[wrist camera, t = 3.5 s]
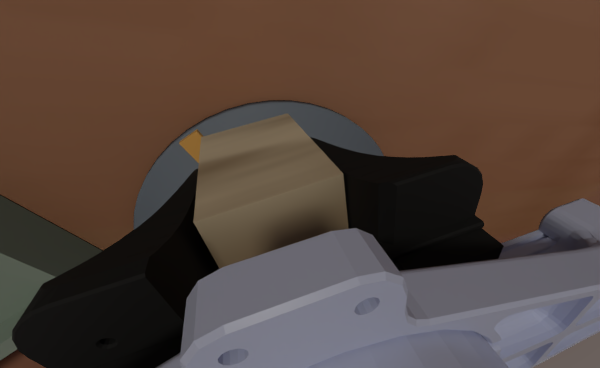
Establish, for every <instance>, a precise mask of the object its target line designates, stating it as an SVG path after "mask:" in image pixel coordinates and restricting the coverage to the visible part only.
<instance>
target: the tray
mask: <svg viewBox="0 0 600 368" xmlns="http://www.w3.org/2000/svg"><path fill="white" fill-rule="evenodd" d="M100 252H102V250H100V249H98V248H96V247H94V246H93V245H91V244H89V243H87V242H85V241H83V240H82V239H80V238H78V237H76V236H74V235H72V234H71V233H69V232H67V231H65V230H63V229H61V228H60V227H58V226H56V225H54V224H52V223H50V222H49V221H47V220H45V219H43V218H41V217H39V216H37V215H36V214H34V213H32V212H30V211H28V210H26V209H25V208H23V207H21V206H19V205H17V204H15V203H14V202H12V201H10V200H8V199H6V198H4V197H3V196H1V195H0V360H2V359H3V358H5V357H6V356H8V355H9V354H11V353H12V352H14V351H15V350H17V347H16V346H15V344H14V342H13V341H12V330H13V328H14V327H15V325H16V324H17V322H18V321H19V319H20V318H21V316H22V314H23V313H24V311H25V310H26V308H27V307H28V305H29V304H30V302H31V301H32V299H33V298H34V296H35V295H36V293H37V292H38V290H39V289H40V287H41V285H42V284H43V283H45V282H47V281H49V280H51V279H53V278H55V277H57V276H59V275H61V274H63V273H64V272H66V271H68V270H70V269H72V268H74V267H76V266H78V265H80V264H81V263H83V262H85V261H87V260H88V259H90V258H92V257H94V256H95V255H97V254H99V253H100Z"/></svg>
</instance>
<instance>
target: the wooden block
mask: <svg viewBox="0 0 600 368" xmlns="http://www.w3.org/2000/svg"><path fill="white" fill-rule="evenodd" d="M193 223H194V224H195V226H196V228H197V230H198V231H199V233H200V235H201V237H202V238H203V240H204V242H205V244H206V246H207V247H208V249H209V251H210V253H211V254H212V256H213V258H214V260H215V261H216V263H217V265H218V267H219V268H222V267H224V266H227V265H230V264H233V263H236V262H239V261H242V260H245V259H248V258H252V257H255V256H258V255H261V254H264V253H267V252H270V251H273V250H276V249H279V248H282V247H285V246H288V245H291V244H294V243H297V242H300V241H303V240H306V239H309V238H312V237H315V236H318V235H321V234H324V233H327V232H330V231H336V230H344V229H349V228H348V218H347V208H346V197H345V187H344V176H343V173H342V172H341V171H340V169H339V168H338V167H337V166H336V165H335V164H334V163H333V162H332V161H331V160H330V159H329V158H328V156H327V155H326V154H325V153H324V152H323V151H322V150H321V149H320V148H319V147H318V146H317V145H316V143H315V142H314V141H313V140H312V139H311V138H310V137H309V136H308V135H307V134H306V133H305V132H304V130H303V129H302V128H301V127H300V126H299V125H298V124H297V123H296V122H295V121H294V120H293V119H292V117H291V116H290V115H289V114H288V113H286V114H283V115H279V116H276V117H272V118H268V119H265V120H261V121H258V122H254V123H250V124H247V125H243V126H240V127H236V128H232V129H229V130H225V131H222V132H218V133H214V134H211V135H207V136H204V137H201V144H200V155H199V166H198V177H197V188H196V199H195V210H194V221H193Z"/></svg>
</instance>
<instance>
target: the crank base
mask: <svg viewBox="0 0 600 368" xmlns="http://www.w3.org/2000/svg"><path fill="white" fill-rule="evenodd" d="M286 113H288V114H289V115H290V116H291V117H292V119H293V120H294V121H295V122H296V123H297V124H298V125H299V126H300V127H301V128H302V129H303V130H304V132H305V133H306V134H307V135H308V136H309V137H312V138H316V139H318V140H321V141H324V142H327V143H329V144H332V145H335V146H338V147H341V148H344V149H348V150H352V151H355V152H360V153H365V154H371V155H377V156H383V154H382V152H381V150H380V148H379V147H378V146H377V144H376V143H375V142H374V140H373V139H372V138H371V137H370V136H369V135H368V134H367V133H366V132H365V131H364V130H363V129H362V128H361V127H359V126H358V125H356V124H355V123H353V122H352V121H350V120H349V119H347V118H346V117H345V116H343V115H341V114H339V113H337V112H334V111H332V110H330V109H328V108H325V107H321V106H318V105H314V104H311V103H305V102H298V101H290V100H269V101H262V102H255V103H248V104H244V105H241V106H237V107H233V108H230V109H226V110H224V111H222V112H219V113H217V114H215V115H212V116H210V117H208V118H206V119H204V120H202V121H201V122H199V123H197V124H196V125H194V126H192V127H191V128H189V129H187V130H186V131H185V132H184V133H183V134H181V135H180V136H179V137H178V138H176V139H175V140H174V141H173V142H172V143H171V144H170V145H169V146H168V147H167V148H166V149H165V150H164V151H163V152H162V153H161V155H160V156H159V157H158V158H157V160H156V161H155V163H154V164H153V166H152V167H151V169H150V170H149V172H148V174H147V176H146V178H145V180H144V183H143V185H142V187H141V190H140V192H139V194H138V198H137V202H136V206H135V211H134V229H136V228H137V227H138V226H140V225H141V224H142V223H144V222H145V221H146V220H147V219H148V218H150V217H151V216H152V215H153V214H154V213H155V212H156V211H157V210H159V209H160V208H161V207H162V206H163V205H164V204H165V203H166V201H167V200H168V199H169V198H170V197H171V196H172V195H173V194H174V193H175V192H176V191H177V190H178V189H179V187H180V186H181V185H182V184H183V183H184V182H185V180H186V179H187V178H188V177H189V176H190V175H191V173H192V172H193V171H194V170H195V169H198V166H199V155H200V144H201V137H204V136H207V135H211V134H214V133H218V132H222V131H225V130H229V129H232V128H236V127H240V126H243V125H247V124H250V123H254V122H258V121H261V120H265V119H268V118H272V117H276V116H279V115H283V114H286Z"/></svg>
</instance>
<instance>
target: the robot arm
mask: <svg viewBox="0 0 600 368" xmlns="http://www.w3.org/2000/svg"><path fill="white" fill-rule="evenodd" d="M310 138H311V139H312V140H313V141H314V142H315V143H316V145H317V146H318V147H319V148H320V149H321V150H322V151H323V152H324V153H325V154H326V155H327V156H328V158H329V159H330V160H331V161H332V162H333V163H334V164H335V165H336V166H337V167H338V168H339V169H340V171H341V172H342V173H343V176H344V187H345V197H346V208H347V218H348V228H349V229H344V230H336V231H330V232H327V233H324V234H321V235H318V236H315V237H312V238H309V239H306V240H303V241H300V242H297V243H294V244H291V245H288V246H285V247H282V248H279V249H276V250H273V251H270V252H267V253H264V254H261V255H258V256H255V257H252V258H248V259H245V260H242V261H239V262H236V263H233V264H230V265H227V266H224V267H222V268H219V267H218V265H217V263H216V261H215V260H214V258H213V256H212V254H211V253H210V251H209V249H208V247H207V246H206V244H205V242H204V240H203V238H202V237H201V235H200V233H199V231H198V230H197V228H196V226H195V224H194V223H193V221H194V210H195V199H196V188H197V177H198V169H195V170H194V171H193V172H192V173H191V175H190V176H189V177H188V178H187V179H186V180H185V182H184V183H183V184H182V185H181V186H180V187H179V189H178V190H177V191H176V192H175V193H174V194H173V195H172V196H171V197H170V198H169V199H168V200H167V201H166V203H165V204H164V205H163V206H162V207H161V208H160V209H159V210H157V211H156V212H155V213H154V214H153V215H152V216H151V217H150V218H148V219H147V220H146V221H145V222H144V223H142V224H141V225H140V226H138V227H137V228H136V229H134V230H133V231H132V232H130V233H129V234H127V235H126V236H125V237H123V238H122V239H121V240H119V241H118V242H116V243H115V244H113V245H111V246H110V247H108V248H107V249H105V250H104V251H102V252H100V253H99V254H97V255H95V256H94V257H92V258H90V259H88V260H87V261H85V262H83V263H81V264H80V265H78V266H76V267H74V268H72V269H70V270H68V271H66V272H64V273H63V274H61V275H59V276H57V277H55V278H53V279H51V280H49V281H47V282H45V283H43V284H42V285H41V287H40V289H39V290H38V292H37V293H36V295H35V296H34V298H33V299H32V301H31V302H30V304H29V305H28V307H27V308H26V310H25V311H24V313H23V314H22V316H21V318H20V319H19V321H18V322H17V324H16V325H15V327H14V328H13V330H12V341H13V342H14V344H15V346H16V347H17V349H18V350H19V351H20V352H21V353H22V354H24V355H25V356H26V357H28V358H29V359H31V360H33V361H35V362H37V363H39V364H41V365H42V366H44V367H46V368H533V367H534V366H536V365H538V364H540V363H542V362H544V361H546V360H547V359H549V358H551V357H553V356H555V355H556V354H558V353H560V352H562V351H564V350H566V349H567V348H569V347H571V346H573V345H575V344H577V343H579V342H581V341H583V340H584V339H586V338H588V337H590V336H592V335H594V334H596V333H598V332H600V206H598V205H596V204H594V203H592V202H590V201H588V200H586V199H578V200H575V201H572V202H570V203H567V204H564V205H561V206H559V207H556V208H554V209H552V210H550V211H549V212H548V213H547V214H545V216H544V217H543V219H542V220H541V222H540V225H539V230H536V231H533V232H531V233H528V234H525V235H523V236H520V237H517V238H515V239H512V240H509V241H507V242H504V243H500V242H498V241H497V240H496V239H495V238H493V237H492V236H491V235H489V234H488V233H487V232H486V231H484V230H483V229H482V228H483V226H484V223H483V221H482V220H481V219H479V218H478V217H476V216H475V212H476V209H477V205H478V202H479V199H480V195H481V192H482V186H483V180H482V174H481V172H480V171H479V169H478V168H477V167H475V166H473V165H472V164H470V163H468V162H466V161H465V160H463V159H461V158H459V157H458V156H456V155H450V156H437V157H416V158H405V157H387V156H377V155H371V154H365V153H360V152H355V151H352V150H348V149H344V148H341V147H338V146H335V145H332V144H329V143H327V142H324V141H321V140H318V139H316V138H312V137H310Z"/></svg>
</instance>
